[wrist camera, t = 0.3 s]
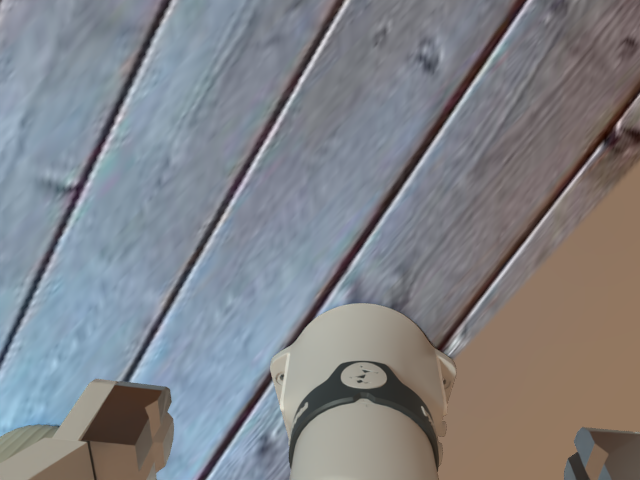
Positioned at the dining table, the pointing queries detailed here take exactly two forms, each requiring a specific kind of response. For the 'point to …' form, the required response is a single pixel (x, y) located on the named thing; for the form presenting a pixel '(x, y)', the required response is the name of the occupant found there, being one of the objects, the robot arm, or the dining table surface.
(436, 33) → the dining table surface
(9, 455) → the canister
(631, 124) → the dining table surface
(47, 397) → the dining table surface
